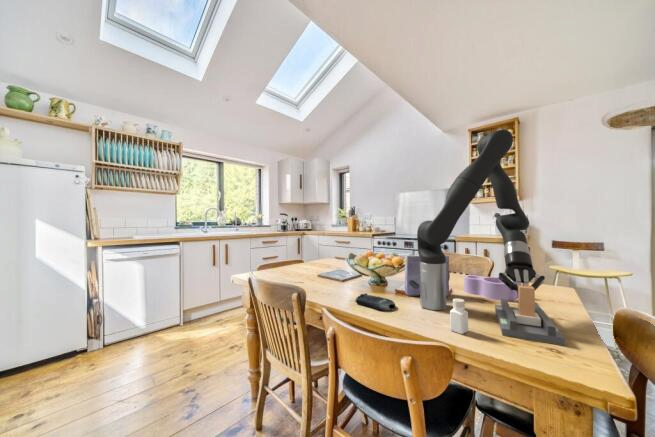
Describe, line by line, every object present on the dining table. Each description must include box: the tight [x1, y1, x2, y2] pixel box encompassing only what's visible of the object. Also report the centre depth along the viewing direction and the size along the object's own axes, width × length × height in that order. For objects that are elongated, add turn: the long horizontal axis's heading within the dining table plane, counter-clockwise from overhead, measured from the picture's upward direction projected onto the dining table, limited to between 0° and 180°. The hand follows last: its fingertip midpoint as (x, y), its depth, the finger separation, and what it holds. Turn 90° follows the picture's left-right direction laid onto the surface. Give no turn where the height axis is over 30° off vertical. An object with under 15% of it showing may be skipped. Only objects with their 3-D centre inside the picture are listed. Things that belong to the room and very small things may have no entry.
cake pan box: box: [404, 254, 451, 297], centre depth 115 cm, size 19×5×18 cm, turn 85°
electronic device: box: [355, 292, 396, 312], centre depth 103 cm, size 9×6×15 cm
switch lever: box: [513, 284, 541, 327], centre depth 79 cm, size 5×6×11 cm
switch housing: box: [494, 298, 566, 347], centre depth 82 cm, size 22×14×5 cm, turn 152°
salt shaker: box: [449, 298, 469, 335], centre depth 79 cm, size 4×4×10 cm
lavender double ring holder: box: [463, 274, 518, 303], centre depth 113 cm, size 20×12×7 cm, turn 45°
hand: (524, 301), depth 81 cm, fingers closed
